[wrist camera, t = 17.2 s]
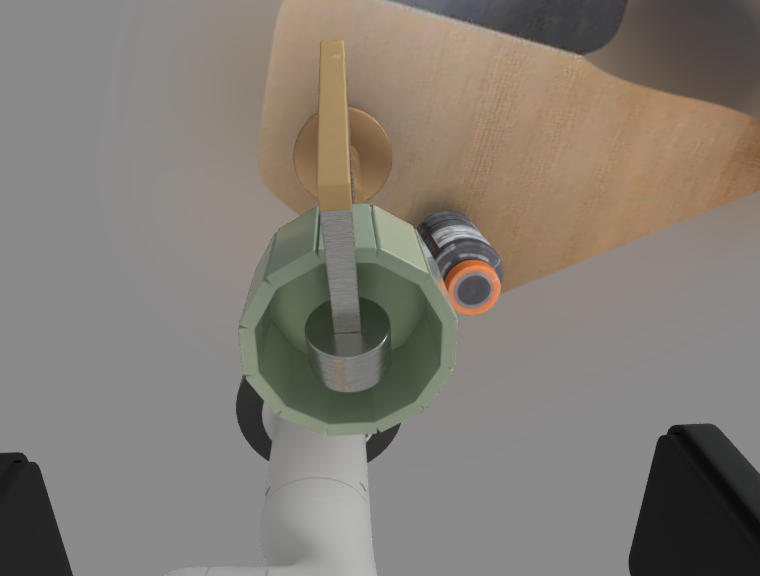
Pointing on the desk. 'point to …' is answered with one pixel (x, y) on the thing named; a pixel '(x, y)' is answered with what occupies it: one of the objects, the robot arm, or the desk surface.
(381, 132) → the stand
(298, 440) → the robot arm
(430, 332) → the bowl
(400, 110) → the desk surface
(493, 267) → the pill bottle
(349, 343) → the wood-topped metal bracket
